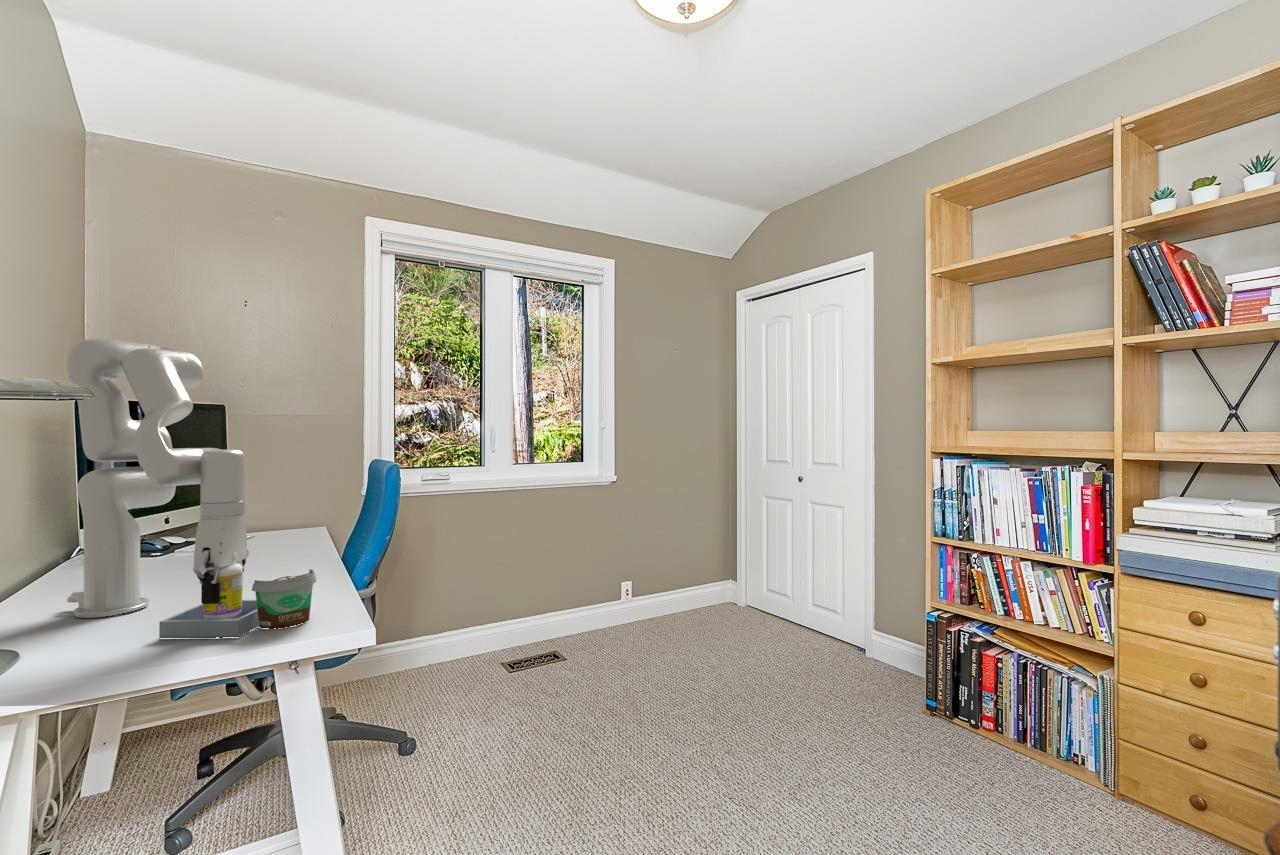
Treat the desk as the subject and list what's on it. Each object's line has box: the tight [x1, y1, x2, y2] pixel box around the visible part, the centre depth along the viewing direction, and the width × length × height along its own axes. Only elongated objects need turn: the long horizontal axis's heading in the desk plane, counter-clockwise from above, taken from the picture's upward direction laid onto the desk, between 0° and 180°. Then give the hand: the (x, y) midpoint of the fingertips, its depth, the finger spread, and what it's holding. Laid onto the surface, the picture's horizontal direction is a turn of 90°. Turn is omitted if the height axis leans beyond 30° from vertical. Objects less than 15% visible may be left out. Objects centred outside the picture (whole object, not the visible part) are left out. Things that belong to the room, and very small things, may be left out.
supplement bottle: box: [203, 552, 244, 620], centre depth 124 cm, size 7×7×13 cm
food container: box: [251, 568, 317, 630], centre depth 126 cm, size 12×6×10 cm, turn 148°
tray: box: [158, 599, 259, 638], centre depth 124 cm, size 15×15×4 cm
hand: (222, 597), depth 124 cm, fingers closed on supplement bottle, 6 cm apart
